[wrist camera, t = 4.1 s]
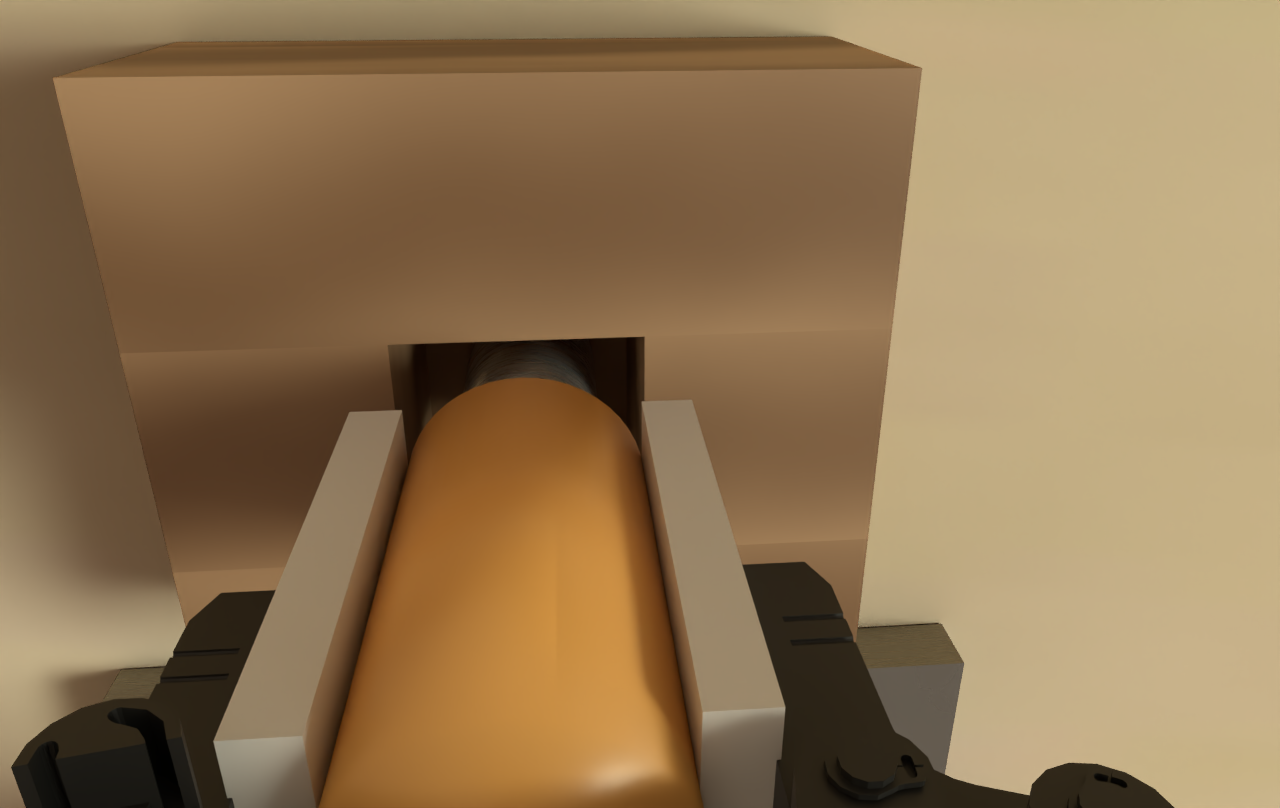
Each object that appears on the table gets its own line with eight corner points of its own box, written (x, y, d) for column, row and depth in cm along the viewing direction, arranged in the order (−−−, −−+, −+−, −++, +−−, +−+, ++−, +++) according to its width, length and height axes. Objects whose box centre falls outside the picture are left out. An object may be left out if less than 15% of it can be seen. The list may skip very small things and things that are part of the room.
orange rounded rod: (432, 273, 19) (274, 737, 8) (622, 268, 19) (718, 711, 8) (447, 442, 20) (333, 1021, 10) (623, 435, 21) (705, 992, 10)
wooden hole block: (177, 42, 18) (52, 78, 13) (831, 36, 19) (922, 68, 14) (280, 591, 23) (215, 751, 18) (790, 565, 24) (847, 711, 19)
